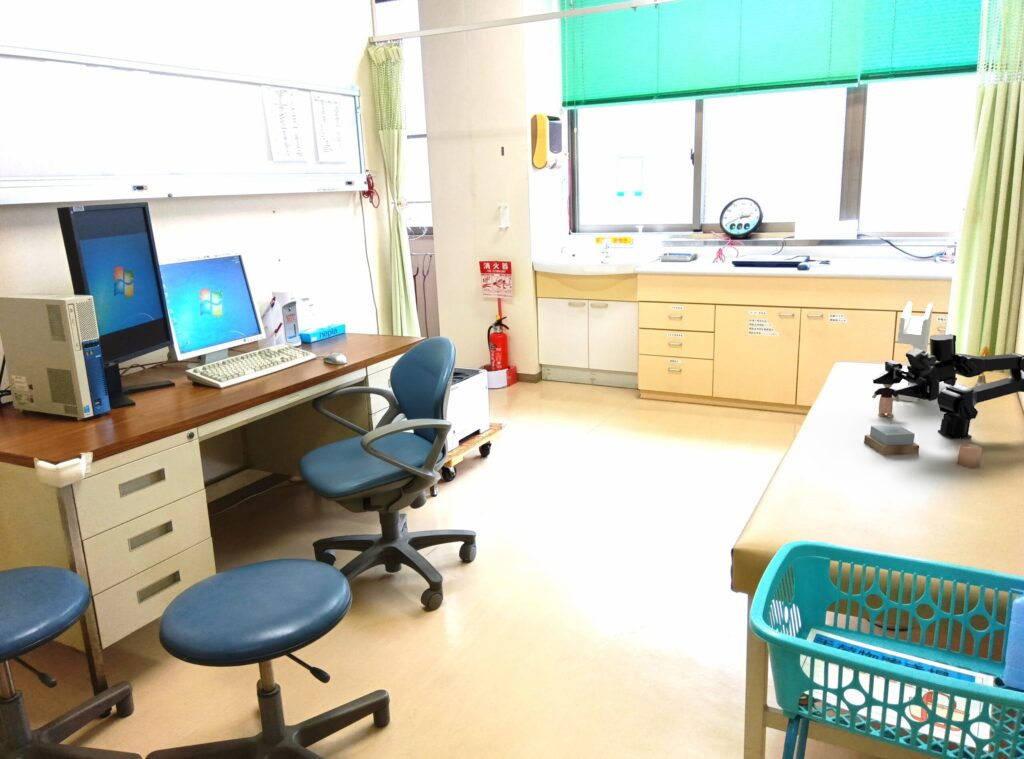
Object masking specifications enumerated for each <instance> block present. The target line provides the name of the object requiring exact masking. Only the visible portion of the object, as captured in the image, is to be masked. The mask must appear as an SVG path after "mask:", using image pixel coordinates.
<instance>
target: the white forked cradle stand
mask: <svg viewBox="0 0 1024 759" xmlns="http://www.w3.org/2000/svg"><path fill="white" fill-rule="evenodd" d="M933 307H934V302H930V303H928V305H927V307H926V310H925V313H924V315H923V316H919V315H912V312H913V302H912V301H908V302H907V304H906V305H905V307H904V309H903V311H902V313H901V315H900V316H899V318H900V319H899V324H898V325H899V326H898V332H897V340H896V344H901V345H903V344H904V345H910V346H912V347H913V349H914V348H918V349H921V350H923V351H925V352H926V353H928V345H929V340H930V330H931V323H932V314H933ZM903 370H905V371H908V369H907V365H906V366H903ZM907 385H908V382H907V381H906V380H904V379H902V381H901V382H900V383H897V384H894V385H892V386H891V389H894V390H897V389H899V388H902V387H904V386H907ZM898 397H899V400H901V401H907V402H908V401H909V402H916V403H917V402H918V400H919V398H915V397H909V396H904V395H898ZM892 398H893V400H896V399H895V397H894V396H893V395H892Z"/></svg>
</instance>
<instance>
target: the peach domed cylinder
mask: <svg viewBox="0 0 1024 759" xmlns="http://www.w3.org/2000/svg"><path fill="white" fill-rule="evenodd" d="M982 450H983V447H982V446H979V445H977V444H973V443H961V444H959V448H958V455H957V462H956V464H957V466H959V467H961V468H962V467H963V468H965V469H979V468H980V463H981V457H982Z"/></svg>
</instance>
